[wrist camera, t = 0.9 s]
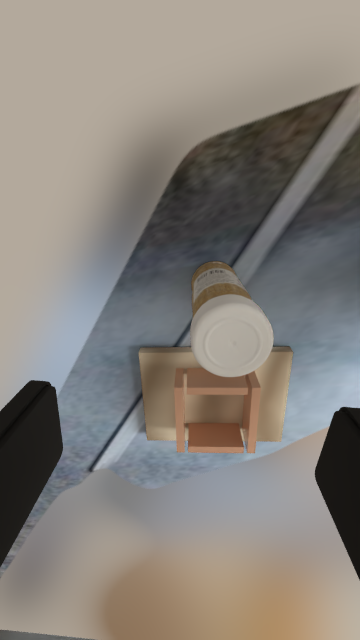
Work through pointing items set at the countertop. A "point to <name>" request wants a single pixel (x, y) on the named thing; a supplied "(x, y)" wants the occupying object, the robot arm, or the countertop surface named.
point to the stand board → (210, 408)
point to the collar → (217, 434)
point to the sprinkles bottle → (227, 323)
